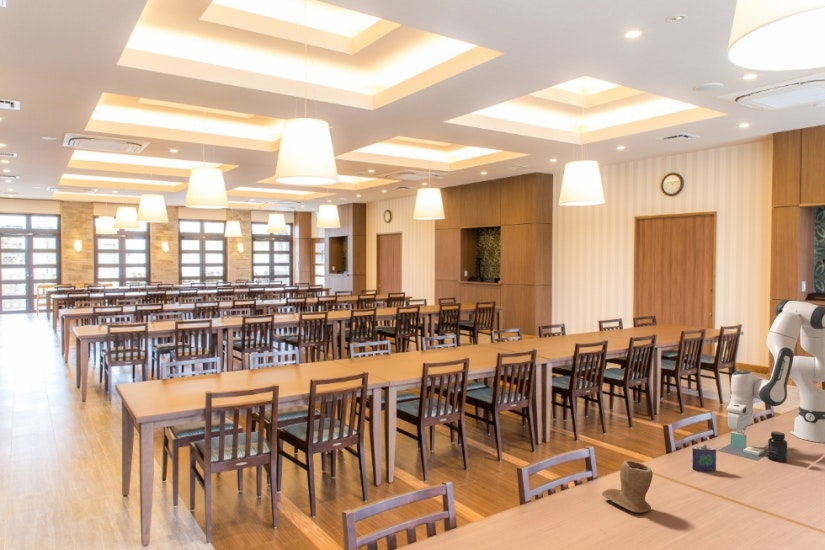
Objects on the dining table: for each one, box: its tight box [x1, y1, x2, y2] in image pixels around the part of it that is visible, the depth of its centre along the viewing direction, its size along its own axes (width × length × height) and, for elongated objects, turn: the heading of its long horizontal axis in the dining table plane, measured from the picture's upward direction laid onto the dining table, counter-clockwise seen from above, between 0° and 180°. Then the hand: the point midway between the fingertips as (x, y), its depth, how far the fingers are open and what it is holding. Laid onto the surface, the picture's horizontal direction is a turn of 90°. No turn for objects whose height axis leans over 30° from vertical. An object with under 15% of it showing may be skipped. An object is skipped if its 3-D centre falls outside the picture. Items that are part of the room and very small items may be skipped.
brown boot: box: [601, 460, 654, 514], centre depth 188 cm, size 15×12×15 cm
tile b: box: [730, 431, 747, 449], centre depth 248 cm, size 2×6×6 cm, turn 39°
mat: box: [716, 443, 768, 461], centre depth 242 cm, size 16×16×1 cm
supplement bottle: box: [767, 431, 789, 464], centre depth 231 cm, size 7×7×12 cm
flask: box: [691, 443, 717, 472], centre depth 221 cm, size 9×3×11 cm, turn 88°
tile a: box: [743, 446, 765, 456], centre depth 240 cm, size 2×6×6 cm
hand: (741, 436), depth 250 cm, fingers closed
